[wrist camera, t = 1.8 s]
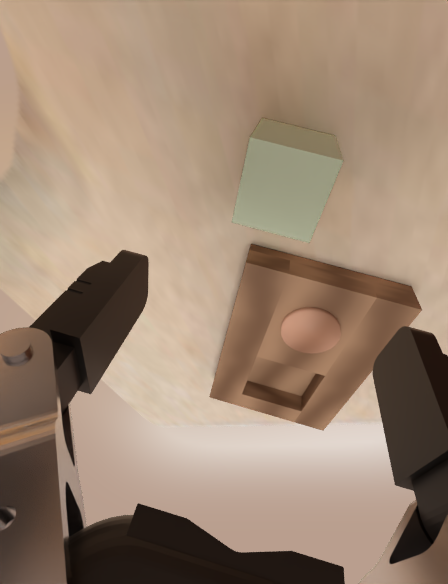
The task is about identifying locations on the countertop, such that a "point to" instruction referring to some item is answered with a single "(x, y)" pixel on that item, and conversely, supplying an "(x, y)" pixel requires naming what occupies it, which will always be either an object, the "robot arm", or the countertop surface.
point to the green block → (286, 179)
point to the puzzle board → (298, 371)
